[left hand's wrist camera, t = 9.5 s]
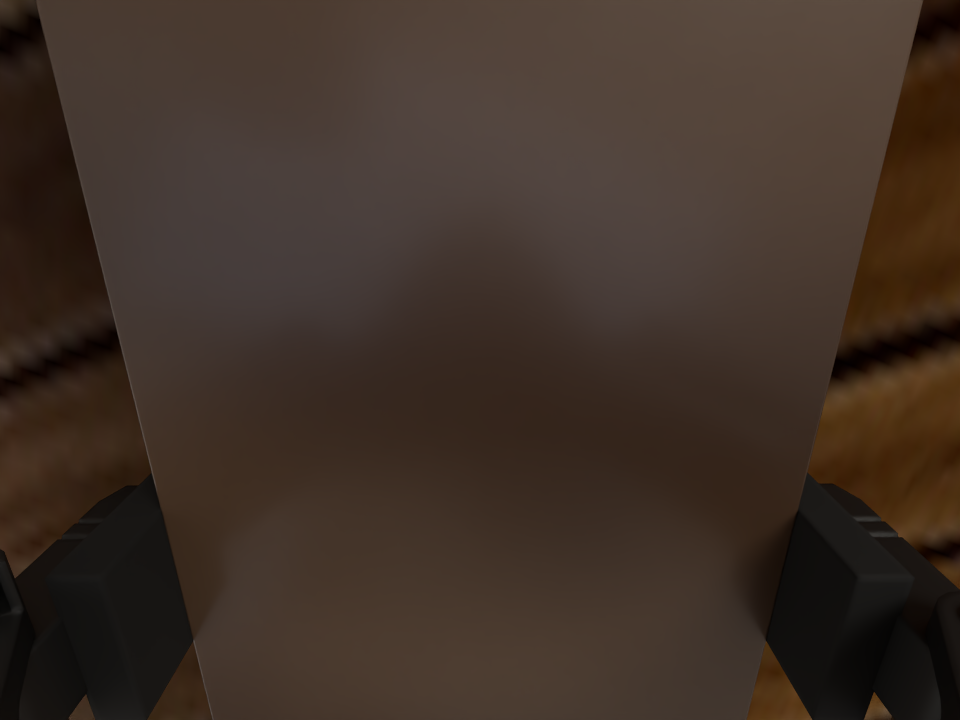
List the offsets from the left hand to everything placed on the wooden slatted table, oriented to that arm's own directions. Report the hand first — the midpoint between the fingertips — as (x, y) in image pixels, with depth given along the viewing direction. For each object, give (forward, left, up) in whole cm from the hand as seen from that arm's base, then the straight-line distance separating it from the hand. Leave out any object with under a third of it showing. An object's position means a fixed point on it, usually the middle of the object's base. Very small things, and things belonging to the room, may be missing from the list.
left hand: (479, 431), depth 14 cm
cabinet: (+2, +4, -4) cm, 6 cm away
